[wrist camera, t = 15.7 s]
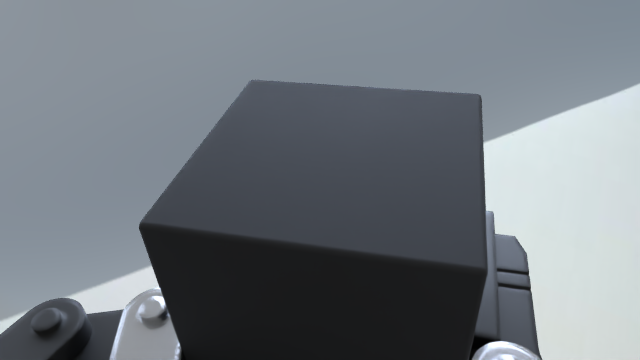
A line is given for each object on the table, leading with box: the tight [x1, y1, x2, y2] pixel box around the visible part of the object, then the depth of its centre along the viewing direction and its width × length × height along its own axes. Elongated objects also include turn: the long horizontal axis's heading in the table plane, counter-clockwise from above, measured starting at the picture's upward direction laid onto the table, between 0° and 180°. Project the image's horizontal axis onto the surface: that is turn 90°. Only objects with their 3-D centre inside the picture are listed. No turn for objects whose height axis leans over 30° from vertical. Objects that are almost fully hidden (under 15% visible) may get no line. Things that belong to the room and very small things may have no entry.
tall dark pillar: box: [139, 80, 488, 360], centre depth 11 cm, size 5×5×10 cm
